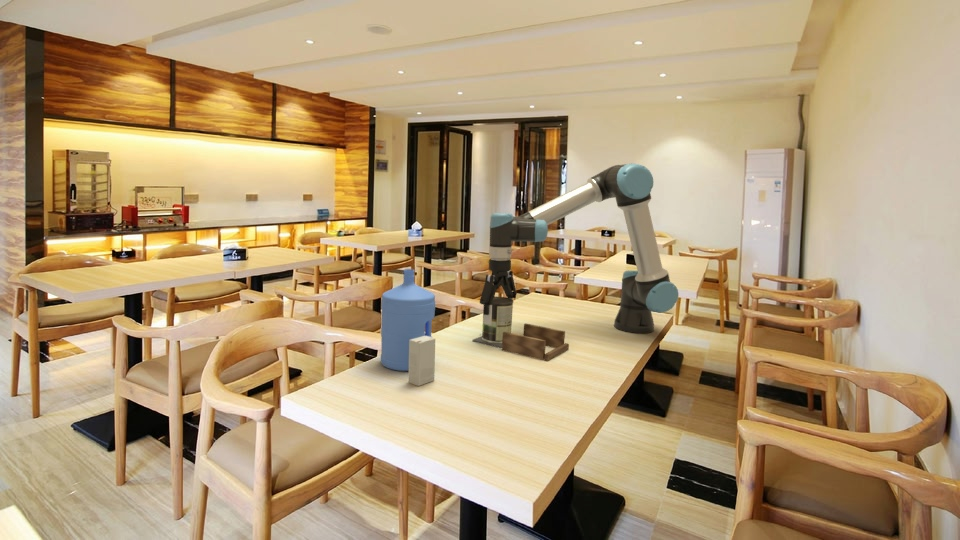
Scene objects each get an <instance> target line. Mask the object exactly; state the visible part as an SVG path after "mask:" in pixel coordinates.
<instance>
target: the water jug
mask: <svg viewBox="0 0 960 540" xmlns="http://www.w3.org/2000/svg"><path fill="white" fill-rule="evenodd" d="M380 308H381V328H380V336H381V337H380V338H381V340H380V341H381V345H380V346H381V347H380V348H381V349H380V350H381V354H380V363H381V364H382V366H384V367H385V368H386V369H390V370H394V371H398V372H409V340H411V339H414V338H418V337H422V336H429V337H432V338H433V336H432V320H433V319H434V318H435V314H436V313H435V311H436V295H435V293H434V292H432V291H429V290H427V289H425V288H423V287H422V286H419V285H417V284H416V283H415V269H411V268H408V269H407V268H406V269H403V282H402V284H400V285H398V286H395V287H393V288H391V289H389V290H387V291H385V292H383V293H382V295H381V305H380Z"/></svg>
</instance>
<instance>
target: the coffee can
mask: <svg viewBox="0 0 960 540" xmlns="http://www.w3.org/2000/svg"><path fill="white" fill-rule="evenodd" d="M490 305H492V324H491V325H489V324H484V305H482V306H483V307H482V309H483V312H482V331H481V332H482V333H481V334H482V335H481V336H482V340H484V341H486V342H489V343H502V339H503V332H508V333H512V325H513V307H514V306H513V305H514V299H513V300H512V299H510V298H508V297H507V296H494V297H493V300H492V302H491V304H490Z"/></svg>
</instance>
